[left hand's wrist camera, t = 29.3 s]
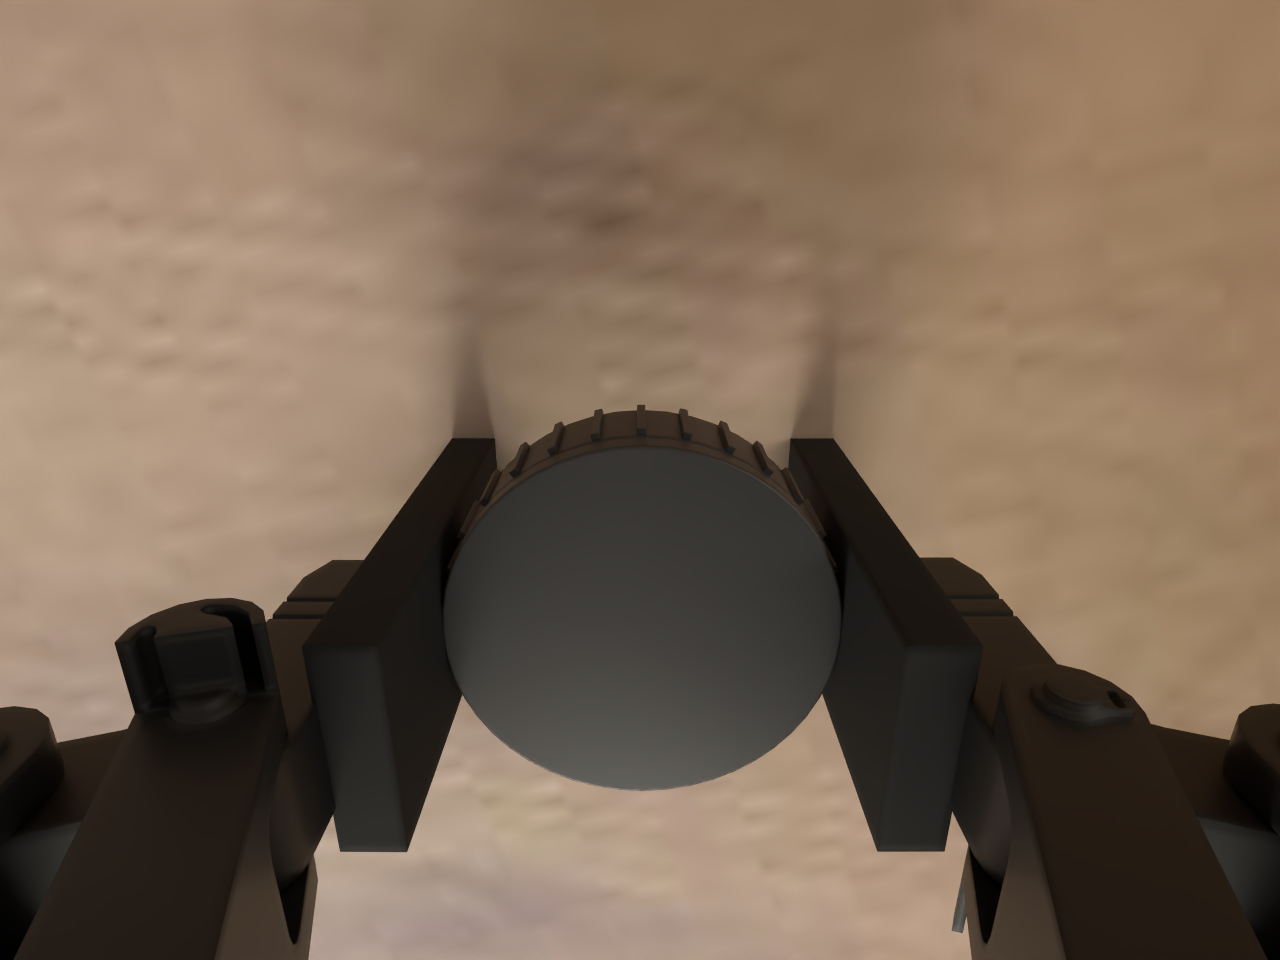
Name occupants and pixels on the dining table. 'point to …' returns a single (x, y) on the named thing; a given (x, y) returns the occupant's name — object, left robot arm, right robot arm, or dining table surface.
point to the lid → (642, 602)
